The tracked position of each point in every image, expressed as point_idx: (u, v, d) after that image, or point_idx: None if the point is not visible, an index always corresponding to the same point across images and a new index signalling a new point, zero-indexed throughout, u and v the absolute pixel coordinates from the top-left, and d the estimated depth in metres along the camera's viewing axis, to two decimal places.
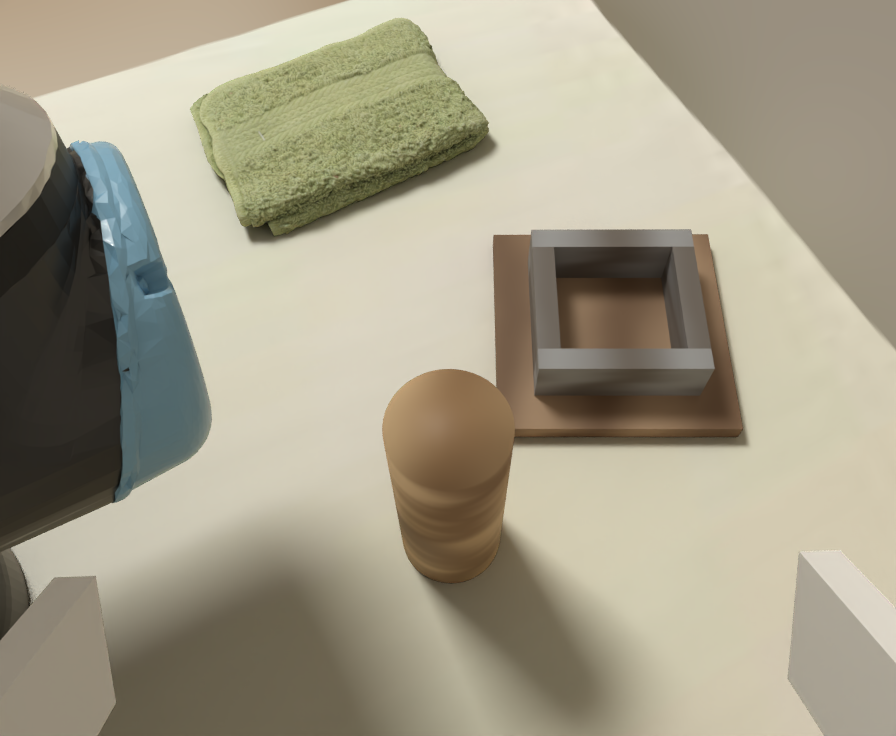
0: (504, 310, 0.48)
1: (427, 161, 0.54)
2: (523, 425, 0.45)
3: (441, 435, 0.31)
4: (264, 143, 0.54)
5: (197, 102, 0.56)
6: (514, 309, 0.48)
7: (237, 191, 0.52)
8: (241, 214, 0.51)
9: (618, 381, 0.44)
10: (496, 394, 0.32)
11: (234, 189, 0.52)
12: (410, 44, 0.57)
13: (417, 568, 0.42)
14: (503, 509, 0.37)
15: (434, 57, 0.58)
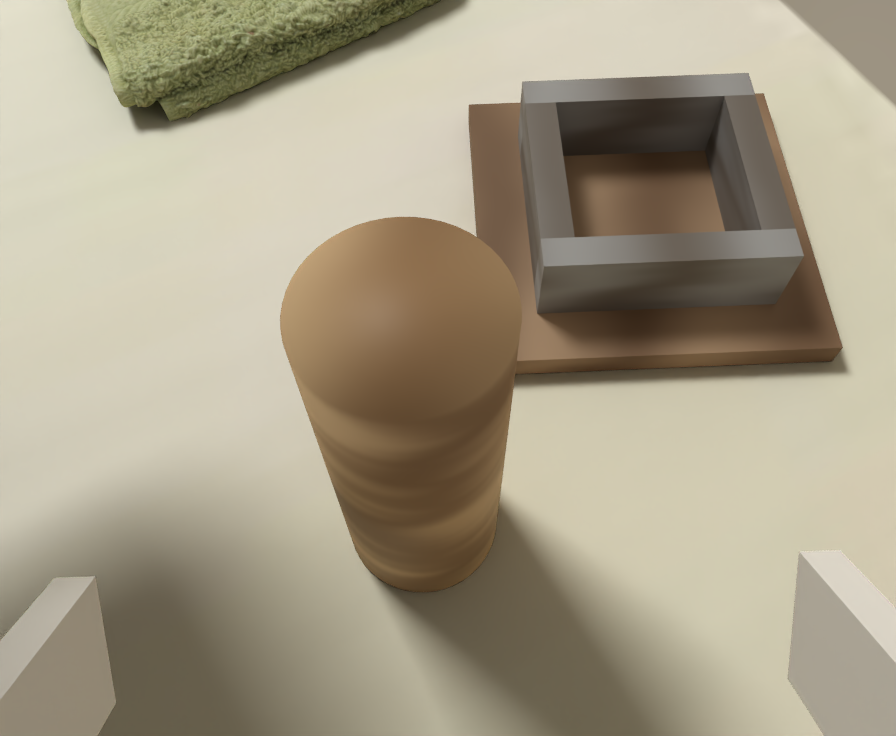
0: (489, 201, 0.34)
1: (377, 16, 0.40)
2: (523, 355, 0.31)
3: (387, 327, 0.17)
4: None
5: None
6: (501, 199, 0.34)
7: (115, 59, 0.38)
8: (119, 88, 0.37)
9: (660, 284, 0.30)
10: (484, 254, 0.18)
11: (110, 57, 0.38)
12: None
13: (373, 572, 0.27)
14: (502, 470, 0.23)
15: None
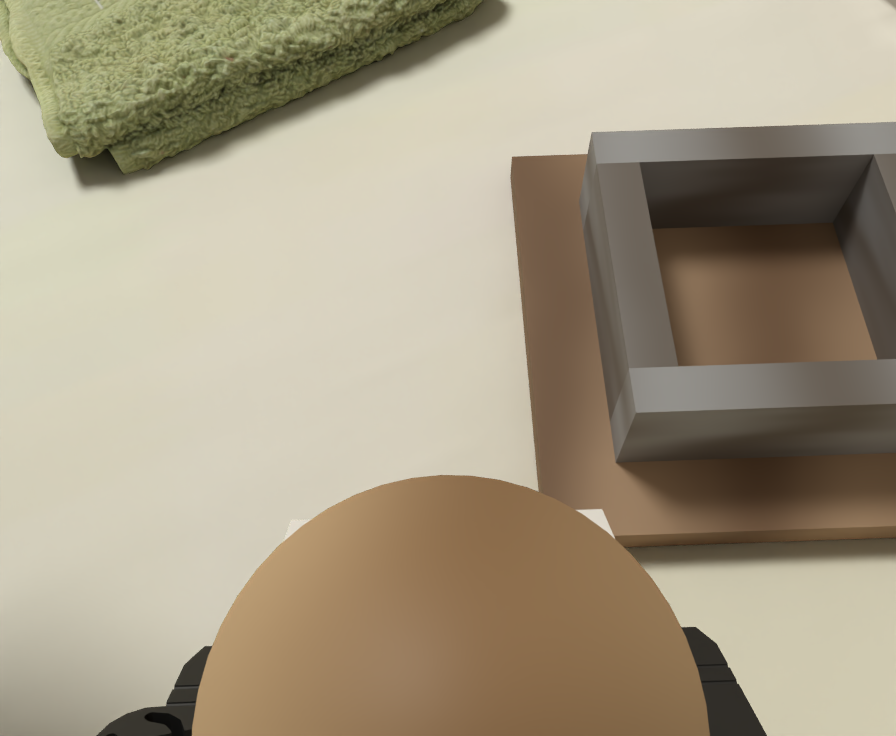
0: (543, 293, 0.25)
1: (393, 34, 0.31)
2: None
3: None
4: (101, 12, 0.30)
5: None
6: (560, 290, 0.25)
7: (50, 95, 0.28)
8: (55, 133, 0.28)
9: (798, 431, 0.21)
10: (617, 568, 0.09)
11: (45, 92, 0.29)
12: None
13: None
14: None
15: None
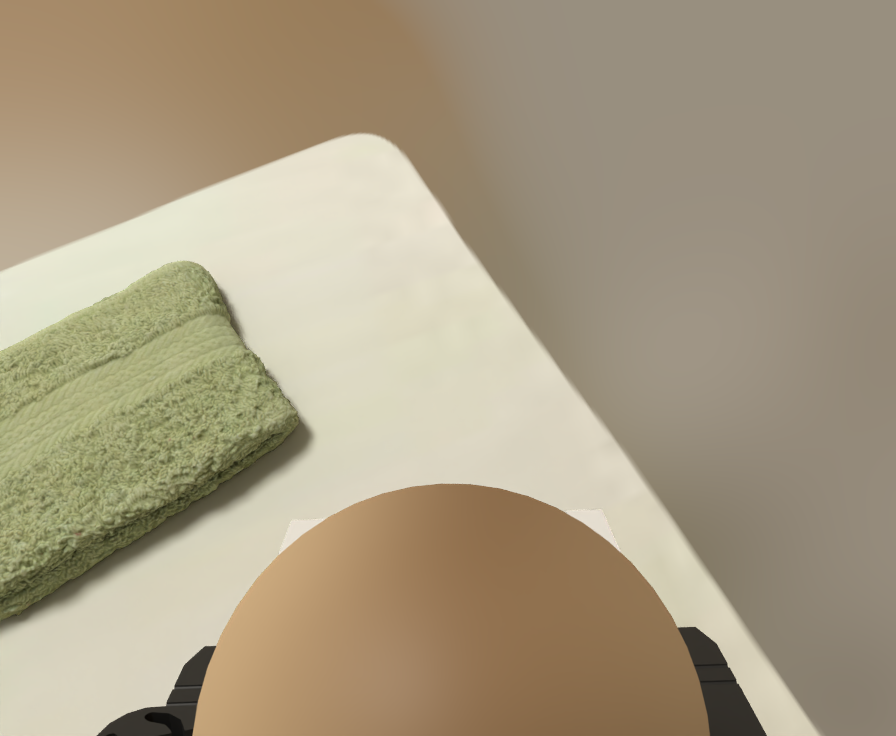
0: None
1: (214, 480, 0.40)
2: None
3: None
4: None
5: None
6: None
7: None
8: None
9: None
10: (617, 577, 0.09)
11: None
12: (187, 304, 0.42)
13: None
14: None
15: (224, 313, 0.43)
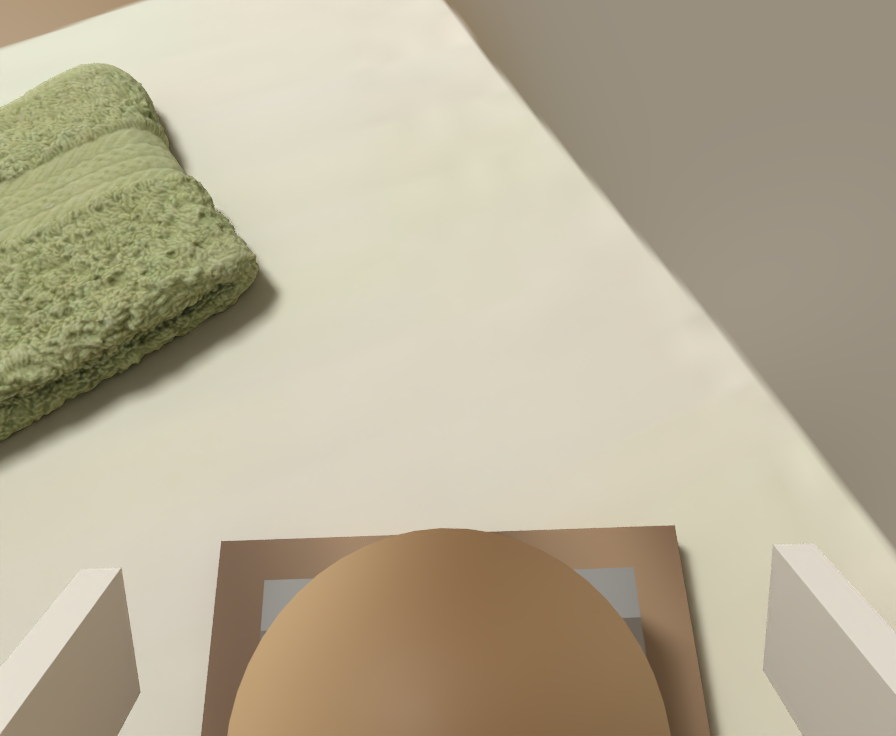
0: None
1: (134, 347, 0.27)
2: None
3: None
4: None
5: None
6: None
7: None
8: None
9: None
10: (594, 612, 0.10)
11: None
12: (105, 113, 0.30)
13: None
14: None
15: (158, 132, 0.31)
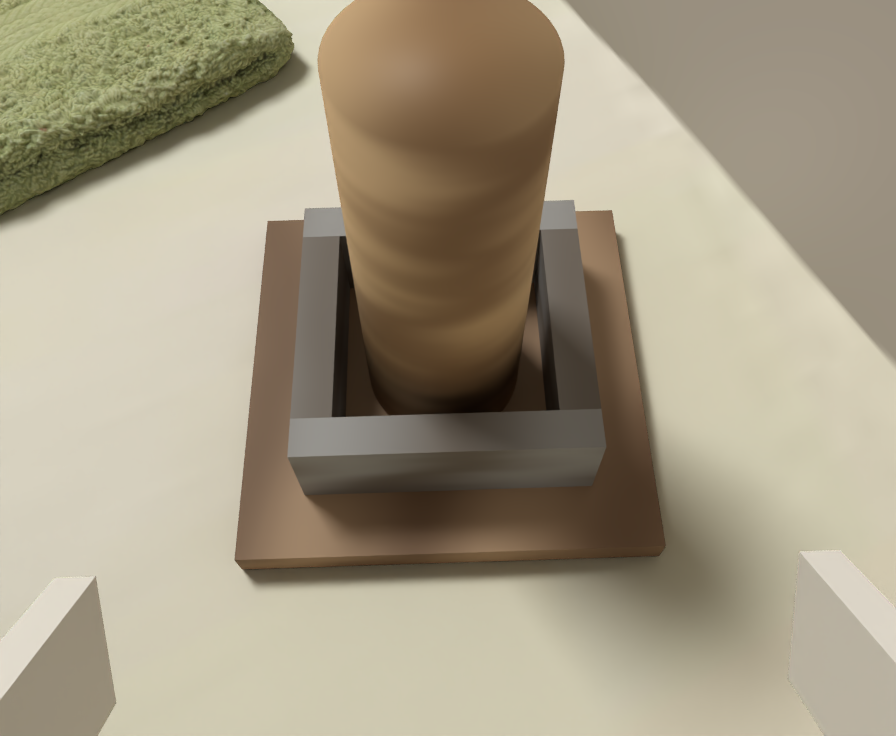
0: (271, 345, 0.29)
1: (199, 98, 0.35)
2: (280, 552, 0.25)
3: (427, 68, 0.17)
4: None
5: None
6: (286, 343, 0.29)
7: None
8: None
9: (441, 471, 0.25)
10: (524, 7, 0.18)
11: None
12: None
13: None
14: (531, 282, 0.23)
15: None
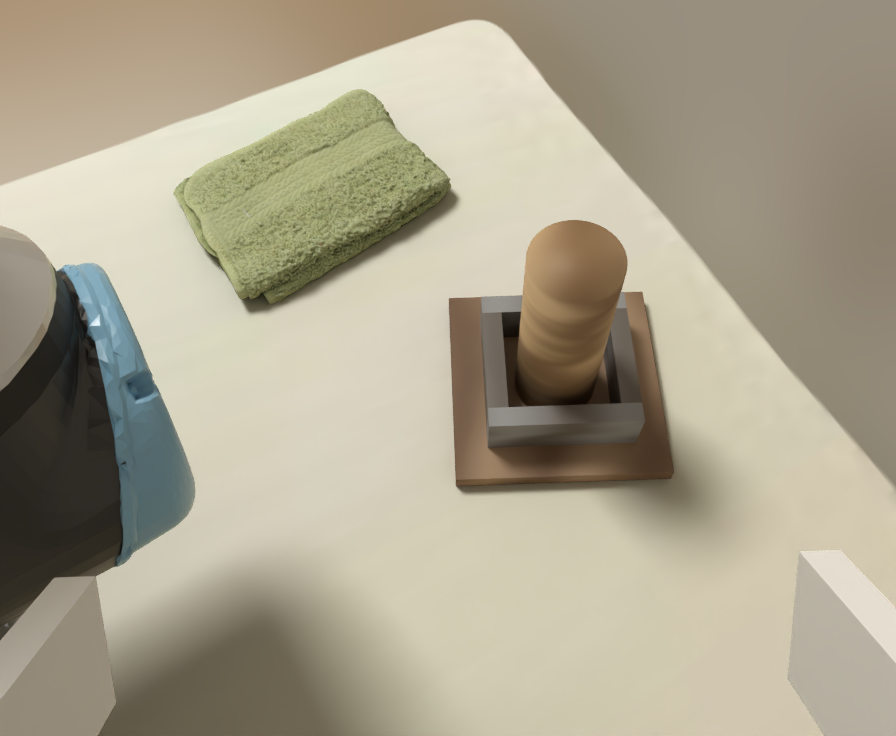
0: (460, 369, 0.54)
1: (399, 220, 0.60)
2: (478, 475, 0.50)
3: (572, 266, 0.41)
4: (250, 219, 0.59)
5: (180, 186, 0.61)
6: (468, 368, 0.54)
7: (232, 267, 0.57)
8: (239, 289, 0.56)
9: (561, 434, 0.49)
10: (608, 235, 0.42)
11: (228, 266, 0.57)
12: (370, 114, 0.63)
13: None
14: None
15: (392, 122, 0.64)
